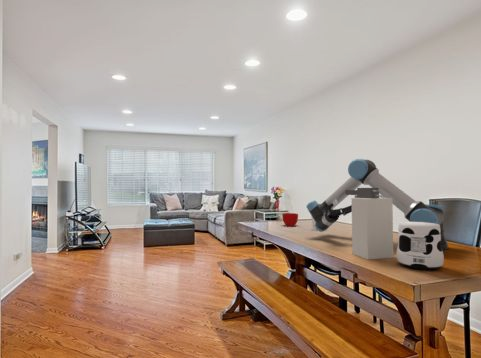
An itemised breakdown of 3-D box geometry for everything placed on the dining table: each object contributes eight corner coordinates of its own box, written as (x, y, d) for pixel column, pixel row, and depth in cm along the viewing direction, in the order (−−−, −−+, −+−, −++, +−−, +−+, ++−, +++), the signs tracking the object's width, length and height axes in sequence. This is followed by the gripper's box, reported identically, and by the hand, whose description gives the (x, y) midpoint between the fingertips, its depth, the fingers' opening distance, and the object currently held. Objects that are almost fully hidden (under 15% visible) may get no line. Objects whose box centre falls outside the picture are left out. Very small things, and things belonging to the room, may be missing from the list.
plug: (343, 197, 164) (343, 187, 164) (351, 196, 167) (351, 187, 167) (374, 198, 148) (374, 188, 148) (382, 198, 151) (382, 187, 151)
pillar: (352, 253, 156) (351, 197, 156) (376, 252, 159) (375, 197, 159) (367, 259, 144) (366, 199, 144) (393, 257, 147) (392, 198, 148)
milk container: (423, 260, 141) (423, 220, 141) (454, 271, 124) (453, 226, 124) (388, 262, 139) (387, 221, 139) (414, 273, 122) (413, 227, 122)
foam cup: (310, 230, 233) (310, 213, 234) (312, 228, 242) (312, 212, 242) (323, 231, 230) (322, 213, 230) (324, 229, 238) (324, 212, 239)
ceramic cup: (302, 225, 264) (302, 213, 264) (294, 227, 250) (294, 215, 250) (288, 224, 271) (288, 212, 271) (279, 226, 257) (279, 214, 257)
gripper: (350, 222, 190) (369, 207, 172) (313, 224, 184) (329, 208, 166) (346, 211, 194) (365, 195, 176) (310, 212, 188) (325, 195, 170)
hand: (347, 201), depth 171 cm, fingers open, 13 cm apart
